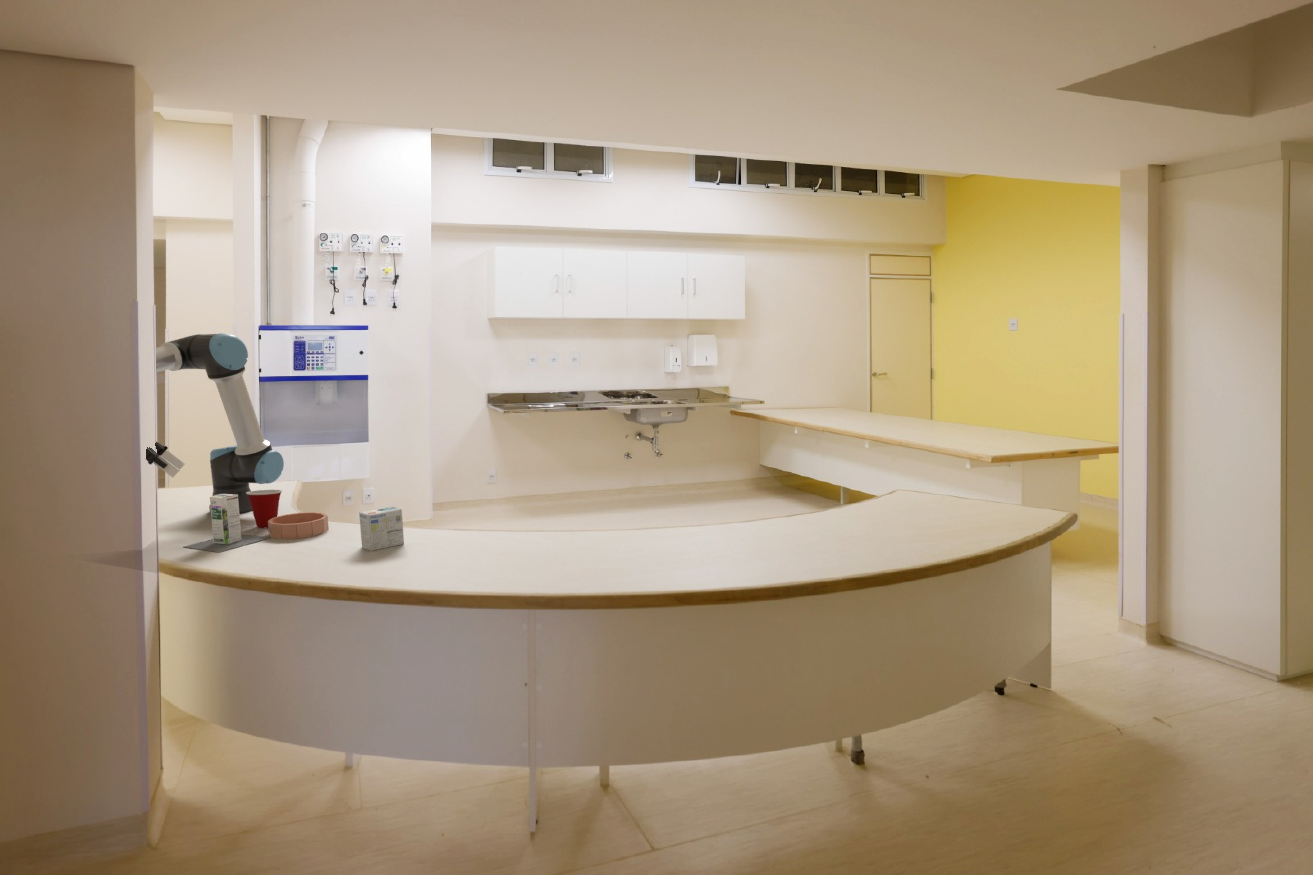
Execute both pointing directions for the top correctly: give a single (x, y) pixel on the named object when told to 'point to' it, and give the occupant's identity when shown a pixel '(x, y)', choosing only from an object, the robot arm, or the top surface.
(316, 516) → the ceramic bowl
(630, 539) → the top surface
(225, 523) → the syrup box
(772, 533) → the top surface
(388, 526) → the light bulb box
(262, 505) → the plastic cup
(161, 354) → the robot arm
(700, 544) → the top surface
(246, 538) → the rubber mat
